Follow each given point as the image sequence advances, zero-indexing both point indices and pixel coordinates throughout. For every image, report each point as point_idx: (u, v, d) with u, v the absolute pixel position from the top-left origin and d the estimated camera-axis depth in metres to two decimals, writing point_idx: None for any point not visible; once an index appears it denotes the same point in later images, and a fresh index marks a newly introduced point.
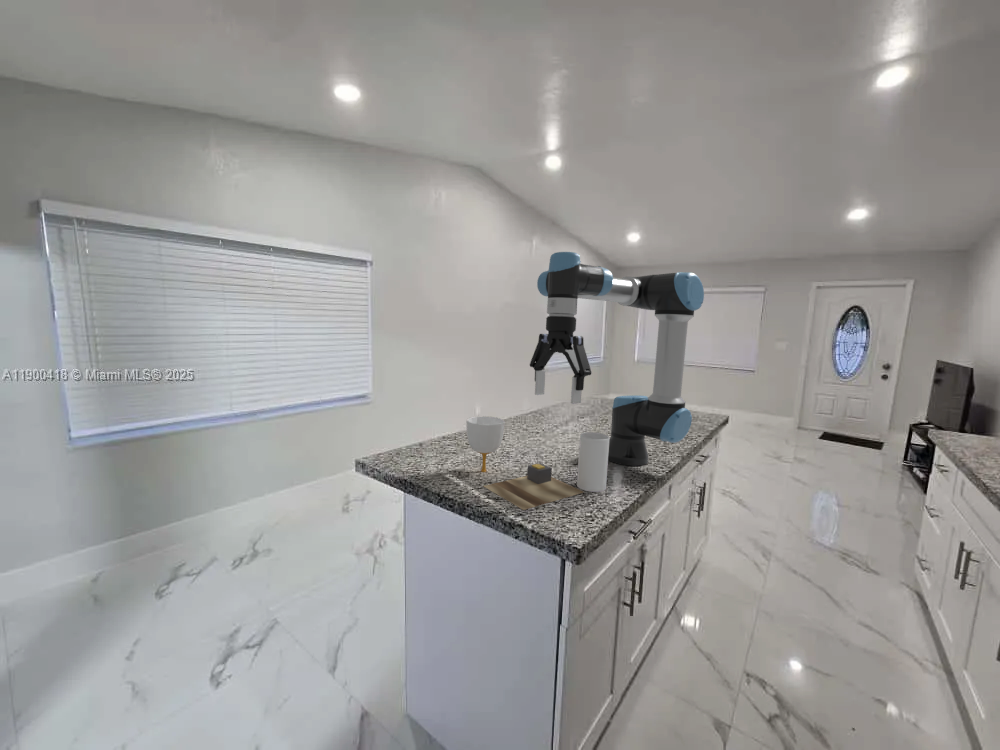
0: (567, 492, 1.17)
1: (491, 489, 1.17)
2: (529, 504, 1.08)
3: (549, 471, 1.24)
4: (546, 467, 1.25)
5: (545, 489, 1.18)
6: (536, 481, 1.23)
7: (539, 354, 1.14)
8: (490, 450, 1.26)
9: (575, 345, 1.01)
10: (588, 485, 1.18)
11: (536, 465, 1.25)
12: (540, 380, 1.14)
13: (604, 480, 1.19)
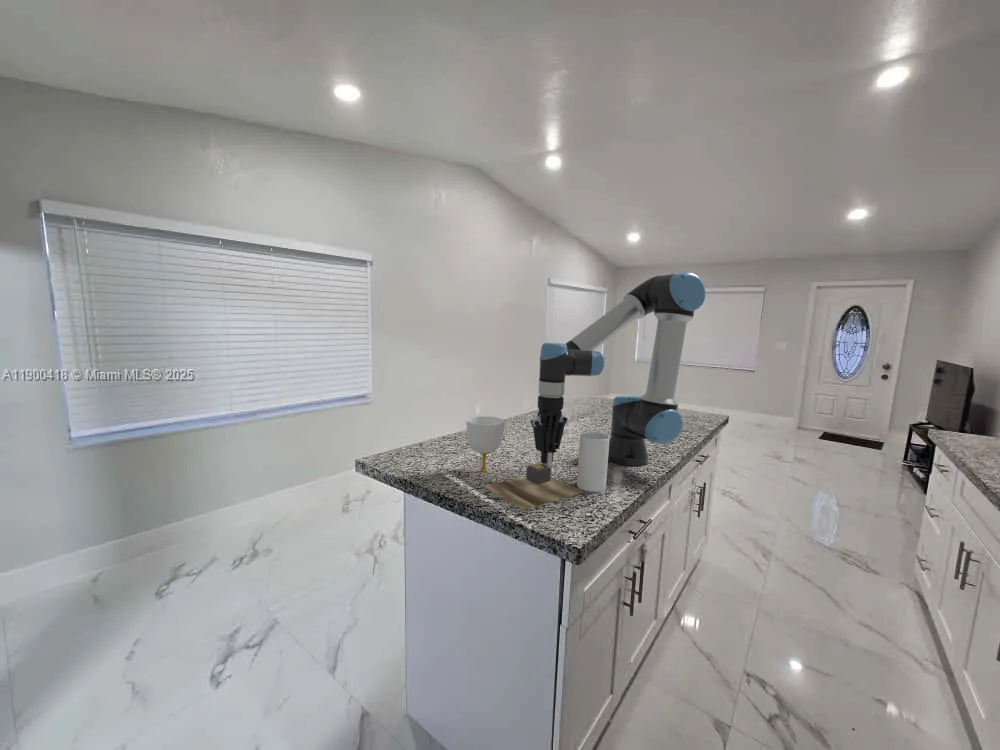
0: (567, 492, 1.17)
1: (491, 489, 1.17)
2: (529, 504, 1.08)
3: (548, 471, 1.24)
4: (545, 467, 1.24)
5: (545, 489, 1.18)
6: (535, 481, 1.22)
7: (556, 434, 1.28)
8: (490, 450, 1.26)
9: None
10: (588, 485, 1.18)
11: (535, 465, 1.25)
12: None
13: (604, 480, 1.19)
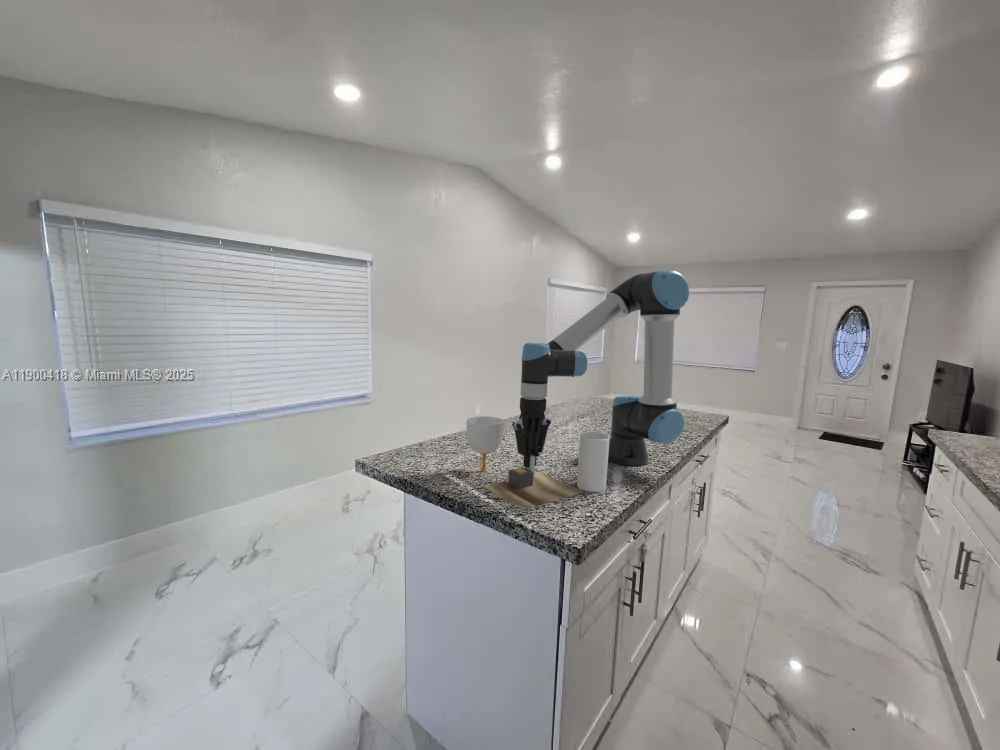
0: (567, 492, 1.17)
1: (491, 489, 1.17)
2: (529, 504, 1.08)
3: (531, 475, 1.20)
4: (528, 471, 1.20)
5: (545, 489, 1.18)
6: (517, 486, 1.18)
7: (539, 436, 1.24)
8: (490, 450, 1.26)
9: None
10: (588, 485, 1.18)
11: (517, 469, 1.21)
12: None
13: (604, 480, 1.19)
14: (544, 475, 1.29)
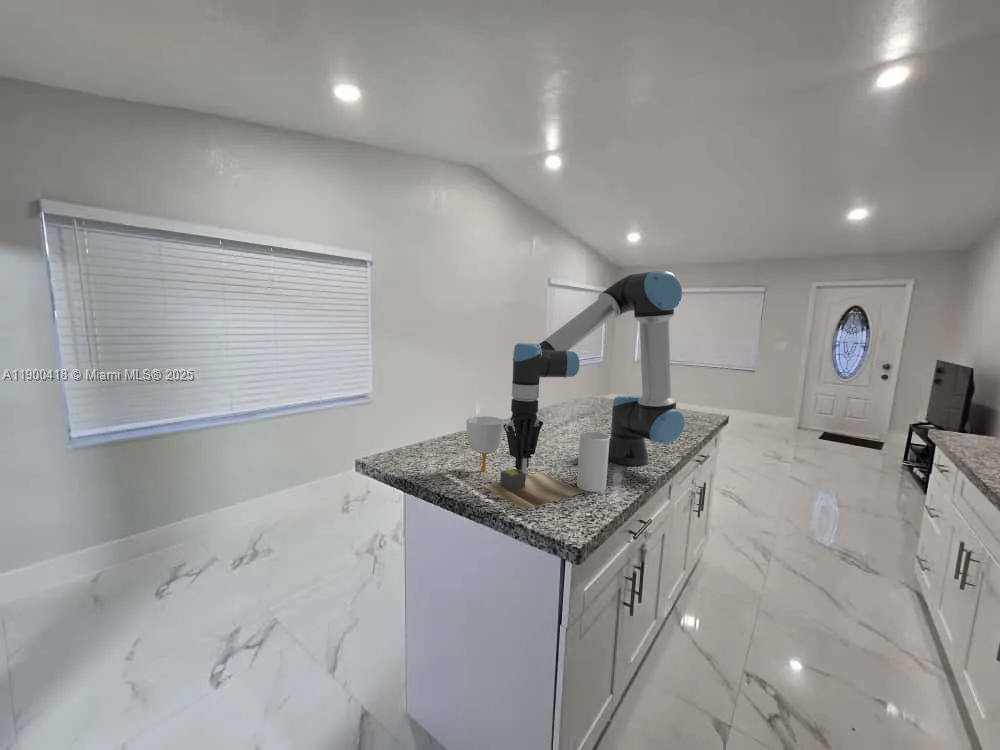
0: (567, 492, 1.17)
1: (491, 489, 1.17)
2: (529, 504, 1.08)
3: (523, 477, 1.18)
4: (520, 473, 1.19)
5: (545, 489, 1.18)
6: (509, 488, 1.17)
7: (531, 438, 1.22)
8: (490, 450, 1.26)
9: None
10: (588, 485, 1.18)
11: (509, 471, 1.19)
12: None
13: (604, 480, 1.19)
14: (544, 475, 1.29)
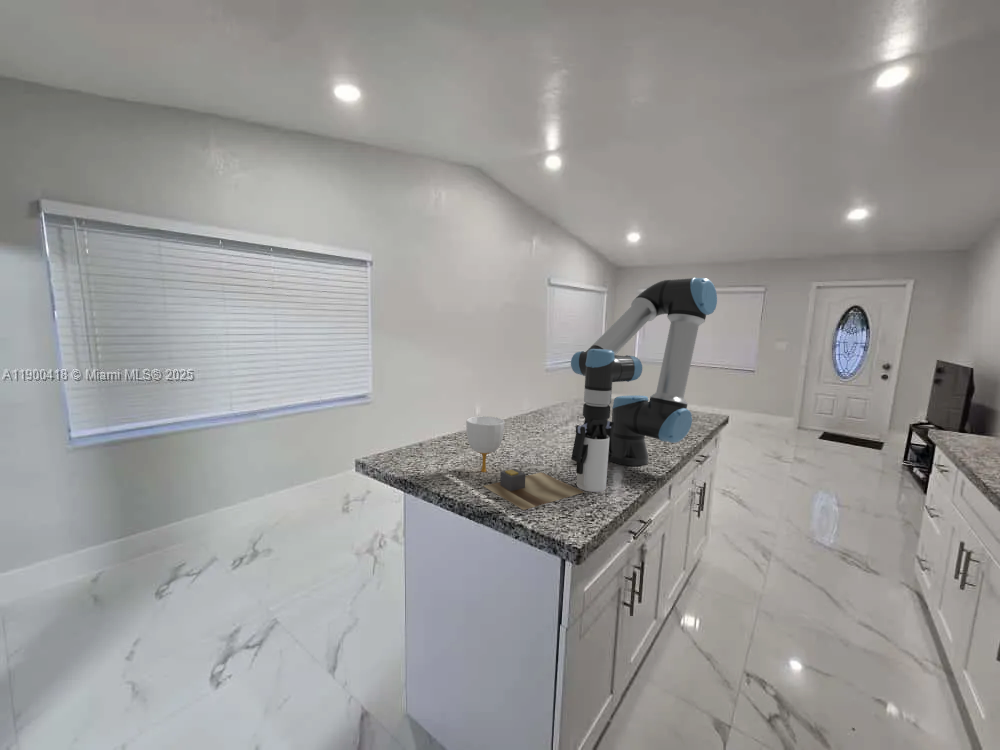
0: (567, 492, 1.17)
1: (491, 489, 1.17)
2: (529, 504, 1.08)
3: (523, 477, 1.18)
4: (520, 473, 1.19)
5: (545, 489, 1.18)
6: (509, 488, 1.17)
7: None
8: (490, 450, 1.26)
9: None
10: (588, 485, 1.18)
11: (509, 471, 1.19)
12: None
13: (604, 480, 1.19)
14: (544, 475, 1.29)
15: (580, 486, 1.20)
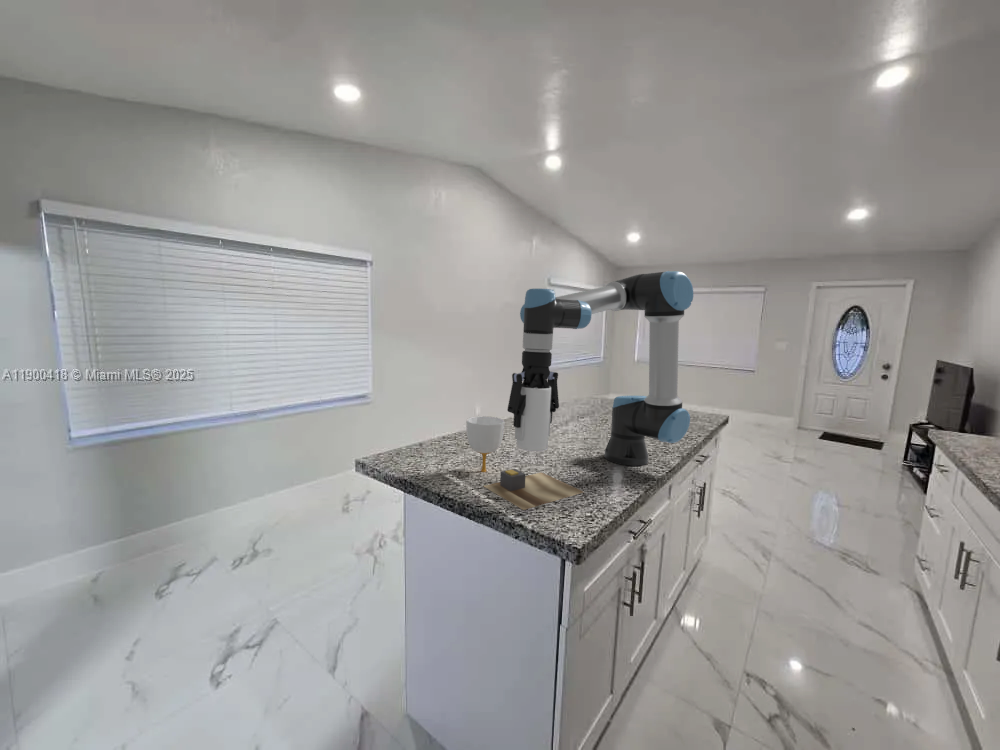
0: (567, 492, 1.17)
1: (491, 489, 1.17)
2: (529, 504, 1.08)
3: (523, 477, 1.18)
4: (520, 473, 1.19)
5: (545, 489, 1.18)
6: (509, 488, 1.17)
7: None
8: (490, 450, 1.26)
9: None
10: (526, 440, 1.07)
11: (509, 471, 1.19)
12: None
13: (545, 435, 1.07)
14: (544, 475, 1.29)
15: (519, 442, 1.08)
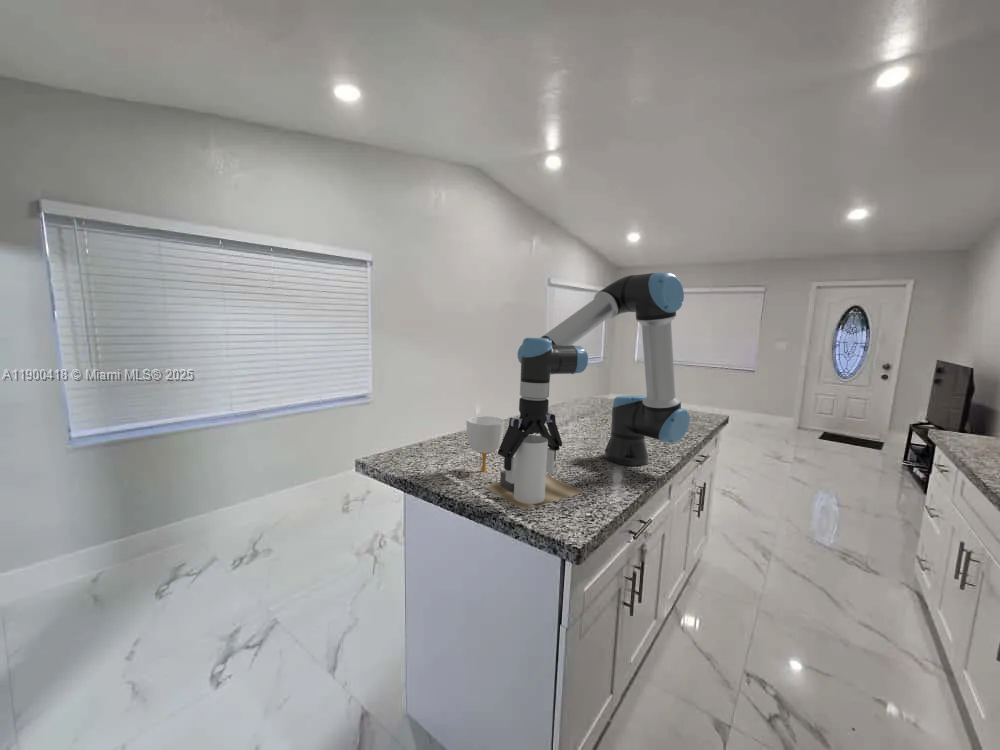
0: (567, 492, 1.17)
1: (491, 489, 1.17)
2: (529, 504, 1.08)
3: None
4: None
5: (545, 489, 1.18)
6: (509, 488, 1.17)
7: (552, 433, 1.15)
8: (490, 450, 1.26)
9: None
10: (523, 493, 1.08)
11: None
12: (548, 458, 1.15)
13: (541, 488, 1.09)
14: None
15: (516, 494, 1.10)
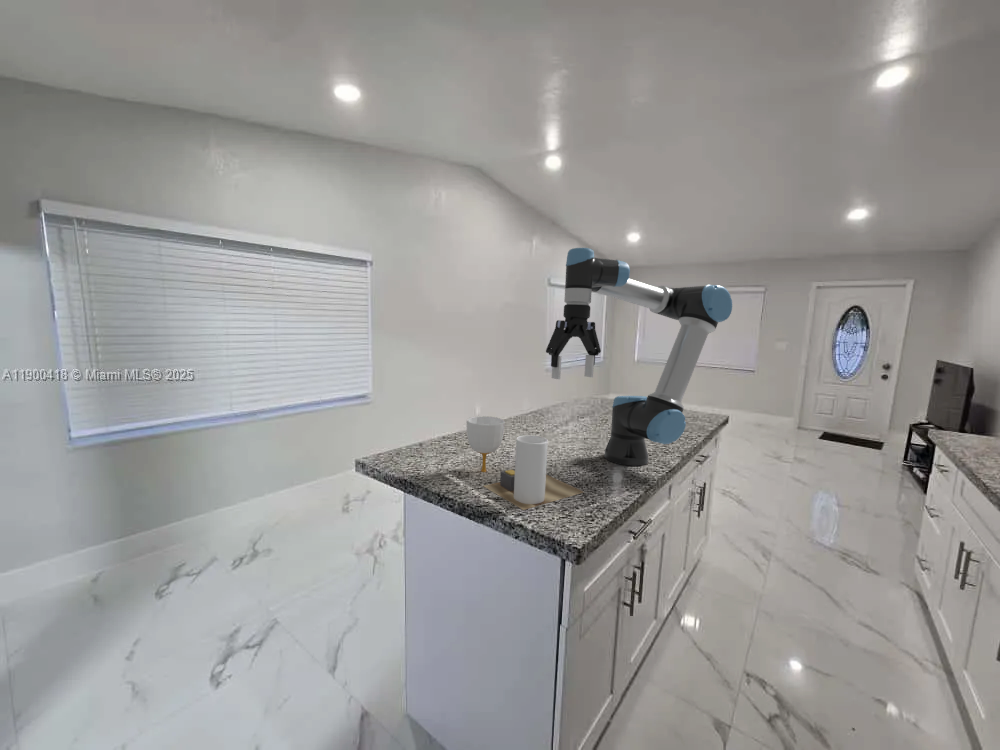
0: (567, 492, 1.17)
1: (491, 489, 1.17)
2: (529, 504, 1.08)
3: None
4: None
5: (545, 489, 1.18)
6: (509, 488, 1.17)
7: (591, 340, 1.27)
8: (490, 450, 1.26)
9: None
10: (523, 493, 1.08)
11: (509, 471, 1.19)
12: (588, 363, 1.27)
13: (541, 488, 1.09)
14: None
15: (516, 494, 1.10)
